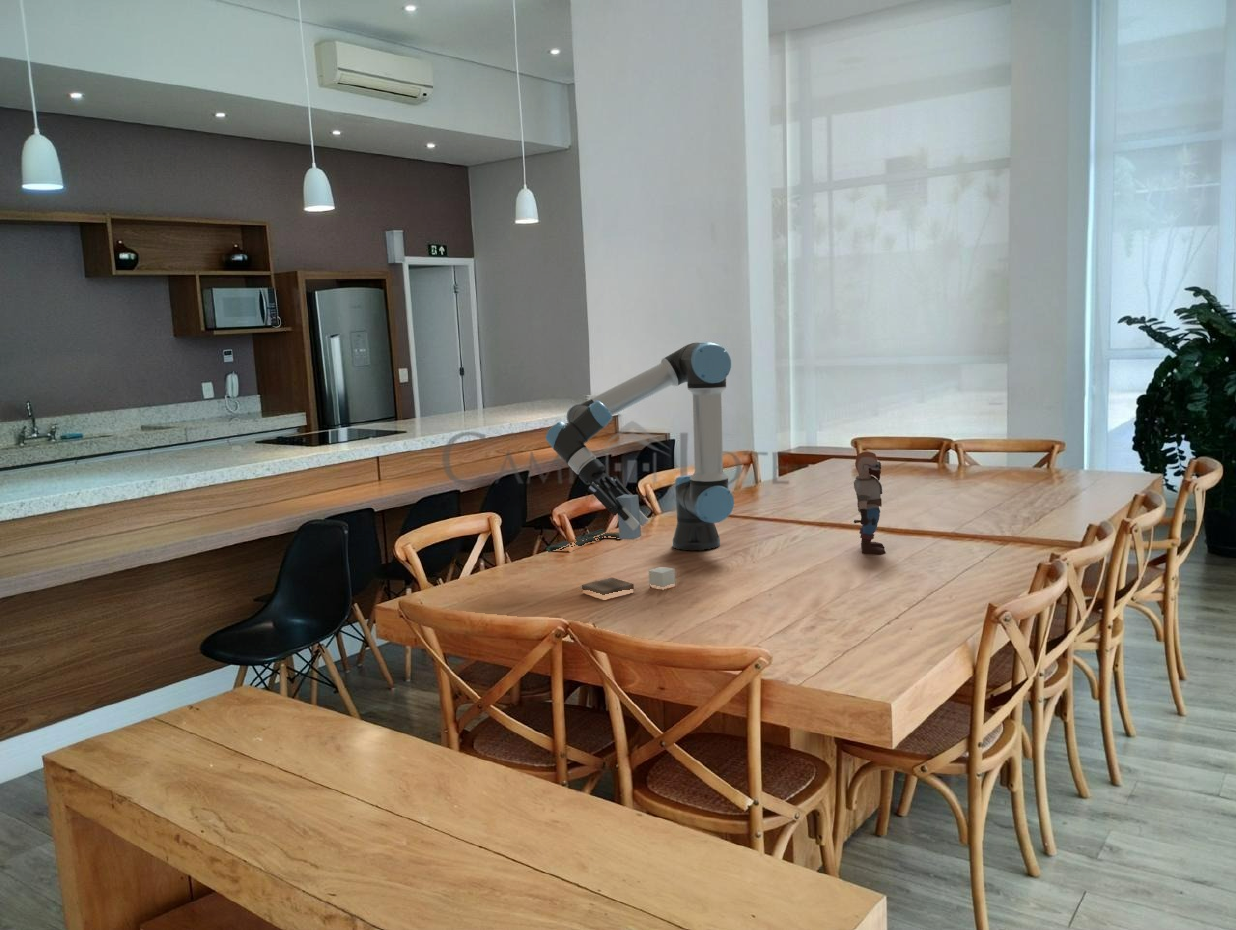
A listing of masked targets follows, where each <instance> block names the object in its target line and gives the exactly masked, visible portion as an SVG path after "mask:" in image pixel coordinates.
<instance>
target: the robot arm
mask: <svg viewBox="0 0 1236 930" xmlns="http://www.w3.org/2000/svg"><path fill="white" fill-rule="evenodd" d="M731 368H732V360H731V356H730V354H729V352H728V350H727V349H725V348H724V347H723V345H720V344H718V343H714V342H708V341H706V342H692V343H689V344H686V345H684V346H683V347H681V348H679V349H678V350H676V351H674V352H672V353H671V354H669V355H667V356H666V357H663V358H662V359H661V362H660V363H658V364H657V365H655V366H653V367H651V368H648V369H647V370H645V371H643V372H641V373H639V374H637V375H635V376H633V377H631V378H629V379H627V380H626V381H624V382H622V383H620V384H617V385H616V386H614V387H612V388H609V389H608V390H605V391H604V392H602V393H600V394H598V395H595V396H594V397H592V398H590V399H589V400H586V401H584V402H582V403H579V404H575V405H572V406H571V407H569V408H568V410H567V413H566V422H567V423H565V422H564V421H558V422H557V423H555V424H553V425H552V426H551V427H550V428H549V429H548V430H547V432H546V434H545V441H546V442H547V443H548V444H549V445H550V447H551V448H552V449H553V451H555V453H557V455H558V456H559V457H560V458H561V459H562V460H563V461H564V463H565V464H567V465H568V466H569V467H570V469H571V470H572V471H573V472H574V473H575V474H576V475H578V477H579V479H580V480H581V481H582V482H583V483H584V484H585V485H590V486H589V487H588V489H587V491H588V492H589V493H591V494H592V495H593V496H595V498H596V499H597V500H598V501H599V502H600V503H601V505H603V506H604V508H606V510H607V511H608V512H609V513H610V514H612V515H613V516H615V517H616V516H618V515H619V516H620V517H621V518H622V519H623V520H624V521H625V522H626V523H627V524H628V525H629V527H630V528H631V529H632V530H633V531H634V530H635V529H636V528H637V527H638V525H639V524H640V526H641V527H644V526H645V525H646V524H647V523H648V522H649V520H650V519H649V518H648V517H647V516H646V515H645V514H644V513H643V511H641V509H639V513H640V523H639V522H638V521H637V520H636V519H635V518H634V517H633V516H632V514H631V513H630V512H629V511H628V510H627V509H626V508H625V507H623V509H622V506H621V505H620V503H619V502H618V500H617V497H619V496H622V495H624V494H626V495H633V494H632V493H631V492H630V491H629V490H628V488H626V486H624V484H623V483H622V482H621V480H620V479H619V478H618V476H616V475H614V476H613V477H611V476H610V475H609V474H607V473H606V472H605V471H606V466H605V465H604V464H603V463H602V461H600V459H598V458H597V457H596V455H595V454H594V453H593V452H592V451H591V450H590V449H589V448H588V447H587V445H585V444H586V443H587V442H588V441H590V440H591V439H592V438H593V437H594V436H596V435H597V434H598V433H599V432H601V431H602V430H603V429H604V428H606V427H607V426H608V425H609V423H610V422H611V421H612V420H613V416H614V415H616V414H618V413H620V412H622V411H624V410H626V409H627V408H628V409H629V407H632V406H633V405H635V404H638V403H640V402H641V401H644V400H645V399H647V398H649V397H651V396H653V395H655V394H658V393H659V392H661V391H663V390H665V389H667V388H669V387H671V386H673V387H678V386H679V385H681V384H684V383H687V386H686V387H687V389H688V390H689V392H690V393H691V394H692V412H693V413H692V414H693V415H692V418H693V454H694V456H693V458H694V459H693V460H694V473H692V474H689V475H680V476H677V477H676V478H675V480H674V481H675V482H674V483H675V485H674V492H675V506H676V509H675V511H676V527H675V530H674V535H673V538H672V547H673V549H675V548H676V550H679V549H682V550H681V551H686V550H699V551H705V550H704V549H708V550H712V549H711V548H713V549H716V548H718V547H720V546H721V538H720V535H719V533H718V530H717V527H716V524H717V523H720V522H723V521H725V520H727V518H729V516H730V515H731V514H732V512H733V510H734V507H735V499H734V496H733V493H732V492H731V490H730V489H729V477H728V475H727V474H726V473H725V472H724V463H723V462H724V459H723V458H724V456H723V455H724V454H723V452H724V451H723V420H722V419H723V416H722V415H723V414H722V413H723V412H722V411H723V409H722V393H723V392H724V390H725V389H726V388H727V377H728V376H729V374H730V372H731ZM715 547H716V548H715Z"/></svg>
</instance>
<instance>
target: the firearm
mask: <svg viewBox="0 0 1236 930" xmlns="http://www.w3.org/2000/svg"><path fill="white" fill-rule="evenodd" d="M605 532H607V531H606V530H605V529H604V528H599V529H597V530H595V531H591V532H587V533H585V534H583V535H579V536H577V537H574V538H575V539H576V540H577V542H576V543H575V542H574V543H575V544H576V545H578V546H582V545H584V544H585V543H588V542H592V541H596V540H595V538H598V539H599V540H600V539H602V537H603V538H604V536H606V537H608V536H611V537H616V538H620V536H619V532H610V531H609V532H607V533H605ZM603 533H605V534H603ZM601 534H603V535H601ZM597 535H600V536H599V537H600V538H599V537H595V538H593V537H594V536H597ZM586 539H587V540H586ZM598 539H597V540H598ZM567 540H568V539H566V540H563V541H560V542H557V543H555V544H551V545H548V546H546V547H545V550H546V551H547V552H553V551H552V550H556V549H559V548H561V547H563V546H566V545H567V544H568V543H569V541H567ZM582 540H584V541H582ZM602 540H603V539H602ZM600 541H601V540H600ZM596 542H597V541H596ZM570 545H572V543H570ZM574 546H575V545H574ZM566 547H569V545H568V546H566ZM566 547H563V548H562V549H564V548H566ZM571 547H573V546H571ZM562 549H560V550H562Z"/></svg>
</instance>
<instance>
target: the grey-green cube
mask: <svg viewBox="0 0 1236 930" xmlns="http://www.w3.org/2000/svg"><path fill="white" fill-rule="evenodd" d="M675 570H676V569H675V568H671V567H665V566H659V567H656V568H652V569H649V570H648V579H649V580H648V583H649V585H650V584H651V585H656V586H660V587H665V586H667V585H670V584H674V583H675V584H676V572H675Z"/></svg>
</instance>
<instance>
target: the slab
mask: <svg viewBox="0 0 1236 930" xmlns="http://www.w3.org/2000/svg"><path fill="white" fill-rule="evenodd" d="M634 587H635V586H634V583H631V582H628V581H625V580H620V579H618V578H615V577H609V578H604V579H600V580H597V581H593V582H588V583H583V584H581V589H583V590H590V591H593V592H596V593H600V594H602V595H605V594H609V593H613V592H618V591H622V590H630V589H634ZM634 590H635V589H634Z"/></svg>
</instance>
